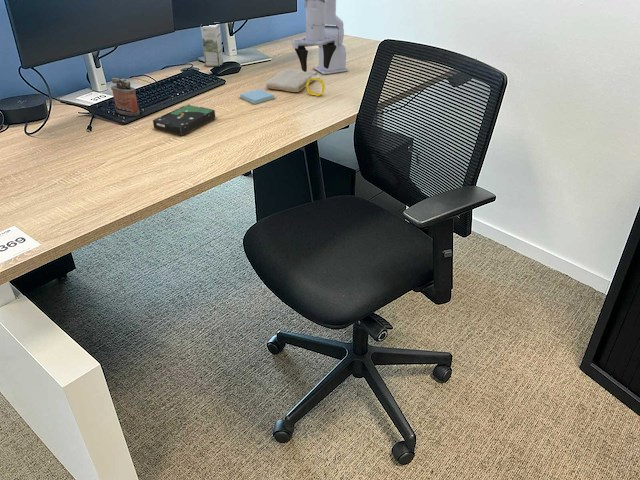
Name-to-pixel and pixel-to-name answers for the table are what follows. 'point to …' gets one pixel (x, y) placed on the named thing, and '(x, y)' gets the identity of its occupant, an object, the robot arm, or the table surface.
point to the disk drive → (184, 119)
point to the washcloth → (290, 80)
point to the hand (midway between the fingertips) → (315, 69)
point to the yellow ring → (319, 81)
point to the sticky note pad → (257, 96)
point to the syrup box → (212, 45)
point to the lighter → (125, 97)
